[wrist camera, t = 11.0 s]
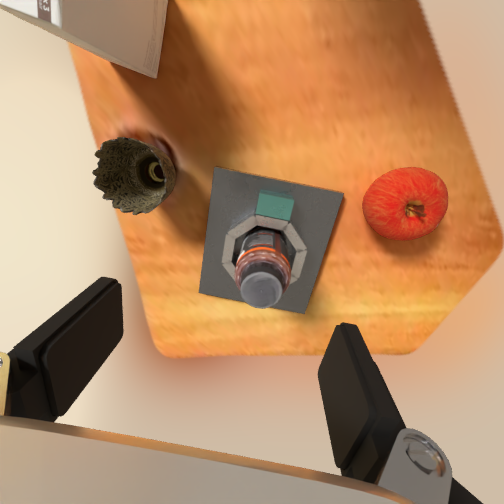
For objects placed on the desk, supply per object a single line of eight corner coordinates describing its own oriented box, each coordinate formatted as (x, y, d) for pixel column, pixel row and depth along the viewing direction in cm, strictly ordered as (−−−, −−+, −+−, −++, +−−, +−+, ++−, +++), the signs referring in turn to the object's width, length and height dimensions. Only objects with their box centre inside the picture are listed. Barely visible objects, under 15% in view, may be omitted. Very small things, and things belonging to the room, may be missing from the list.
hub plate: (216, 166, 32) (208, 168, 28) (341, 191, 32) (351, 197, 28) (200, 288, 38) (192, 304, 34) (303, 309, 38) (307, 327, 35)
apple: (437, 187, 31) (490, 199, 23) (390, 240, 34) (424, 265, 26) (385, 151, 30) (424, 151, 22) (342, 209, 32) (363, 226, 25)
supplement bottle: (234, 239, 34) (216, 279, 23) (272, 217, 32) (272, 249, 22) (257, 274, 35) (250, 326, 25) (295, 254, 34) (304, 301, 23)
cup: (142, 128, 30) (100, 121, 23) (197, 157, 31) (175, 160, 24) (125, 184, 33) (84, 194, 26) (177, 210, 34) (151, 227, 27)
